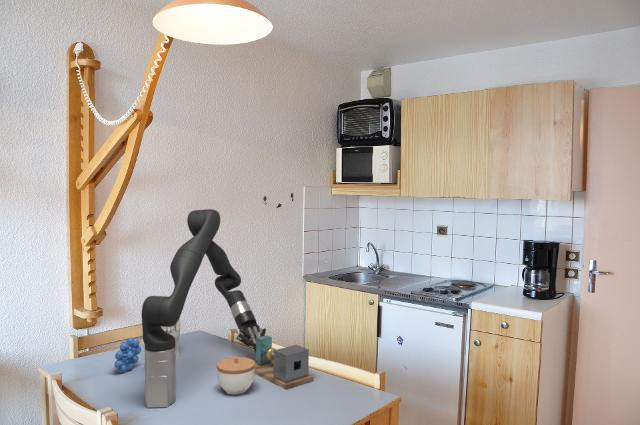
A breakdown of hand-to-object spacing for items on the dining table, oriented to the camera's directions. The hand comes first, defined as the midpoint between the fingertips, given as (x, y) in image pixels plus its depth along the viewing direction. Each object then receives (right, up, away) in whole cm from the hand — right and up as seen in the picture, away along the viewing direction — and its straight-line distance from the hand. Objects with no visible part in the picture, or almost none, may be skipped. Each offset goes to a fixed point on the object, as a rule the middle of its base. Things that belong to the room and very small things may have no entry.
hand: (260, 353), depth 187 cm
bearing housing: (+12, -4, -14) cm, 19 cm away
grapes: (-48, -5, -6) cm, 49 cm away
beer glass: (-37, -4, +12) cm, 39 cm away
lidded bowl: (-5, -6, -22) cm, 24 cm away
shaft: (+7, -3, -7) cm, 10 cm away
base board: (+7, -5, -8) cm, 12 cm away
